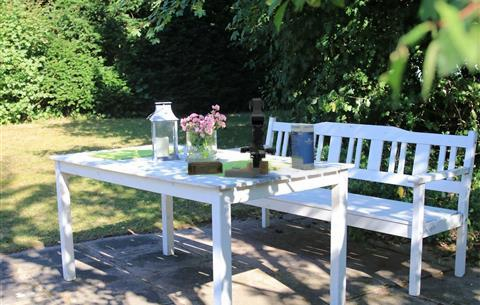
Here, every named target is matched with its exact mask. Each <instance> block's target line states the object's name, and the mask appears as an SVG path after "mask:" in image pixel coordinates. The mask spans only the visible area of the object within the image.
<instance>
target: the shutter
mask: <svg viewBox="0 0 480 305" xmlns="http://www.w3.org/2000/svg"><path fill="white" fill-rule="evenodd" d="M252 167H253V162H252V161H250V162H248V163H246V166H245V167H242V168H240V169H239V170H252V169H253V168H252Z"/></svg>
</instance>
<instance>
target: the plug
mask: <svg viewBox="0 0 480 305" xmlns="http://www.w3.org/2000/svg"><path fill="white" fill-rule="evenodd" d="M259 169H260V175H269V161H268V160H262V161H261V163H260V166H259Z"/></svg>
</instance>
